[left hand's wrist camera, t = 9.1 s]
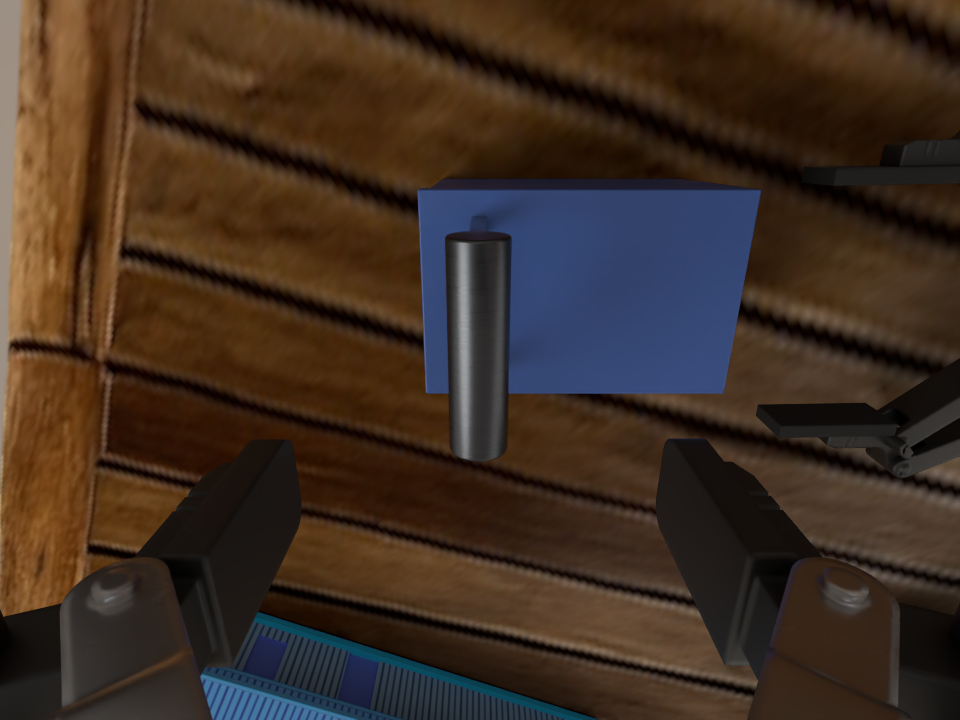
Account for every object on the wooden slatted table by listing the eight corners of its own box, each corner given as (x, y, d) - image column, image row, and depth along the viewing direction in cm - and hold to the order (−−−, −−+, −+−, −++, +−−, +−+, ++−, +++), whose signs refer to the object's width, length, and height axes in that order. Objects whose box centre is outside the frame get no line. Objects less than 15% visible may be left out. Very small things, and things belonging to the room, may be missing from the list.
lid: (427, 385, 28) (405, 485, 19) (419, 187, 24) (387, 207, 16) (715, 385, 28) (815, 485, 19) (751, 188, 24) (893, 206, 16)
